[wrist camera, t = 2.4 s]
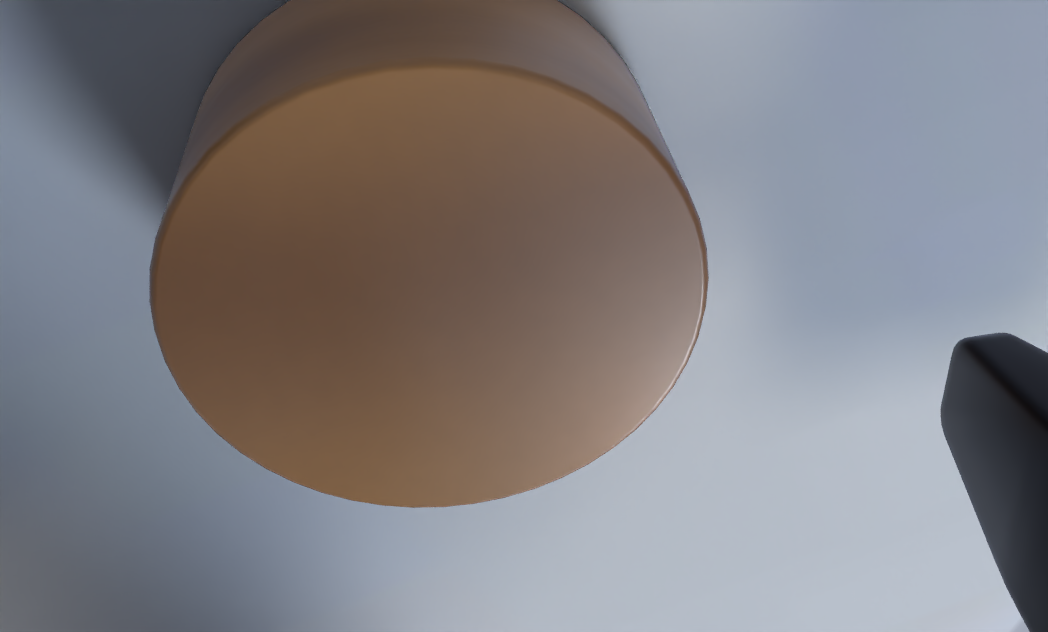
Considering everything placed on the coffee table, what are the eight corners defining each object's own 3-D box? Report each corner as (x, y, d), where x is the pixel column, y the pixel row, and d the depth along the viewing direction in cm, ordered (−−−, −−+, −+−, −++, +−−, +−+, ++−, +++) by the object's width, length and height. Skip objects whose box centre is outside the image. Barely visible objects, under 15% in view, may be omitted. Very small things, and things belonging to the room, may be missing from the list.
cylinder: (661, 337, 14) (706, 470, 12) (260, 397, 14) (239, 542, 12) (652, -74, 10) (715, 16, 8) (118, 1, 10) (53, 110, 8)
